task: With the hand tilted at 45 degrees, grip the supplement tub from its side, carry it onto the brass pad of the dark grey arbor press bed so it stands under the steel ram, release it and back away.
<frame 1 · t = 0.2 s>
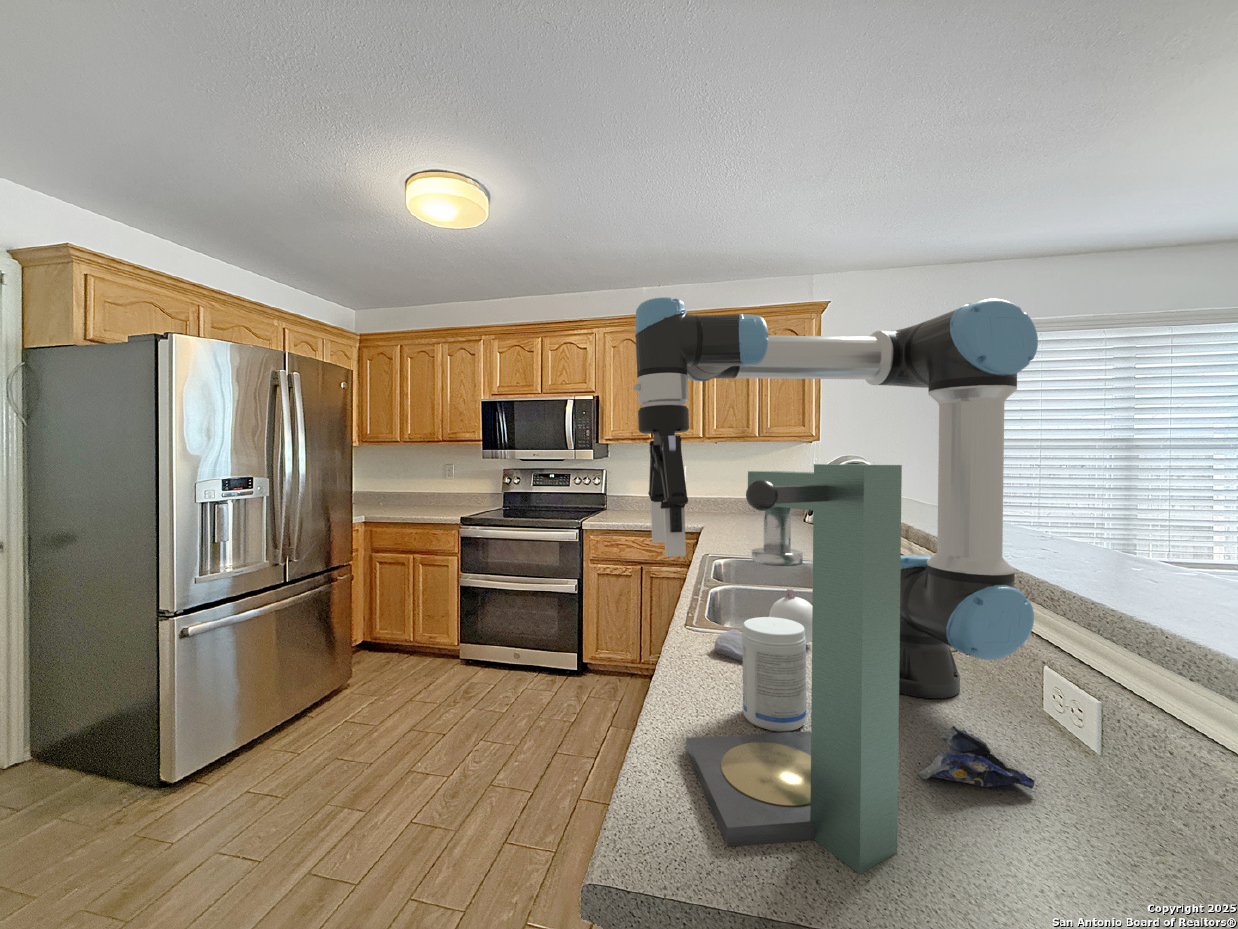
hand: (667, 548, 79), 27 cm above the worktop, tool pointing down, fingers open, 13 cm apart
supplement tub: (773, 719, 83), on the worktop
stone block: (744, 656, 111), on the worktop
arbor press: (774, 788, 66), on the worktop
ornament: (793, 644, 117), on the worktop
snack package: (970, 780, 68), on the worktop
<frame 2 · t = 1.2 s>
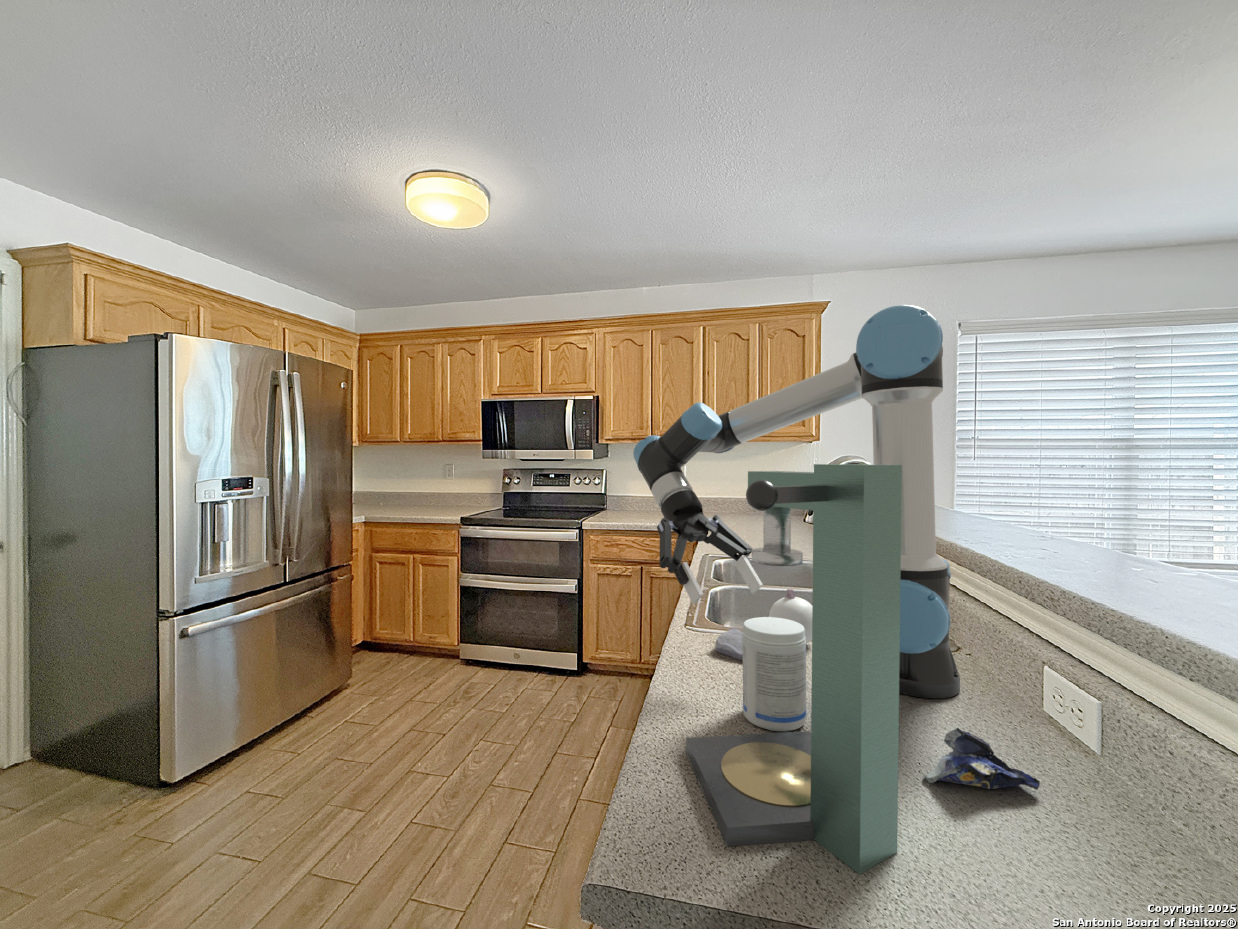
hand: (729, 594, 92), 17 cm above the worktop, tool tilted 45°, fingers open, 13 cm apart
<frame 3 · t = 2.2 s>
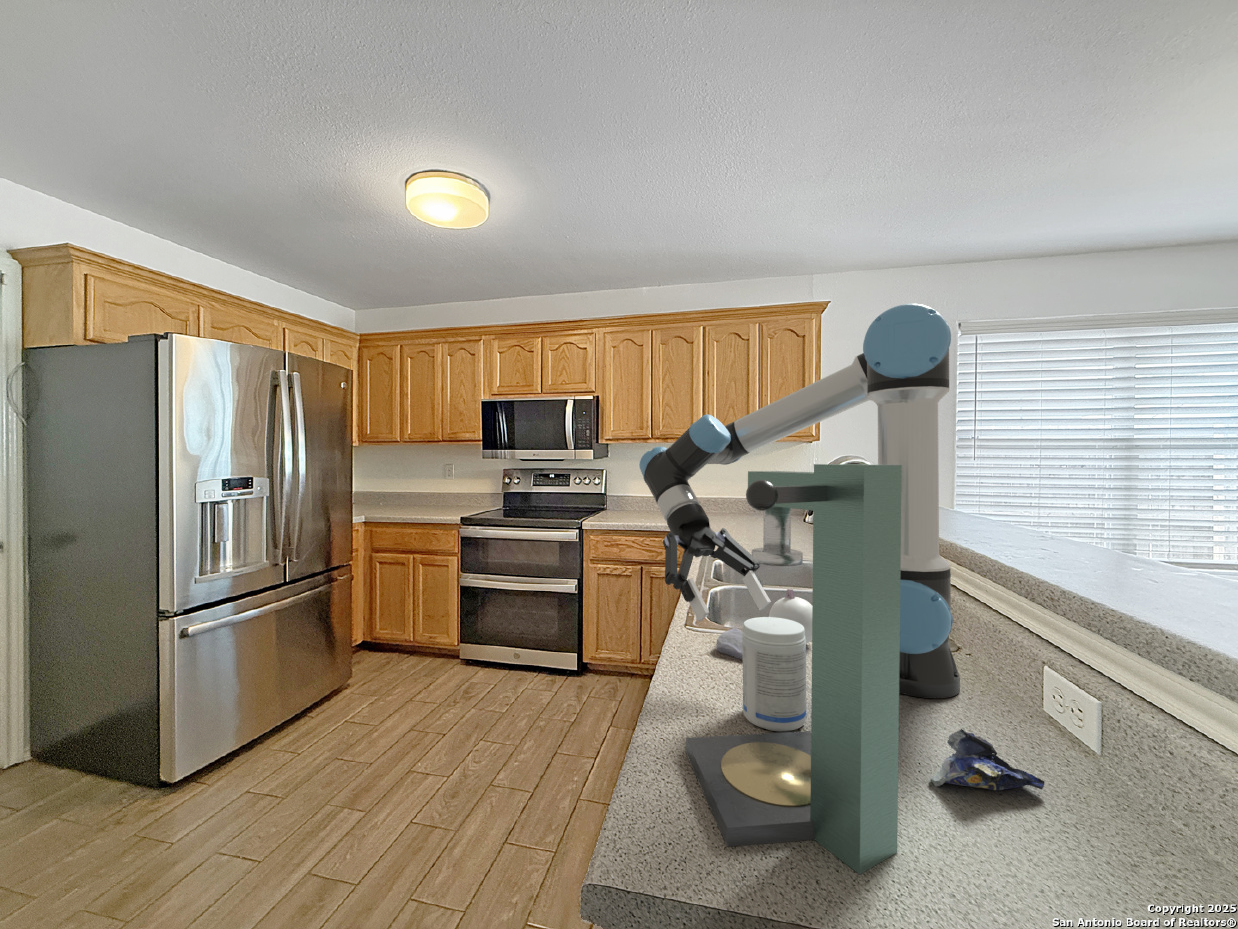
hand: (735, 611, 90), 15 cm above the worktop, tool tilted 45°, fingers open, 13 cm apart
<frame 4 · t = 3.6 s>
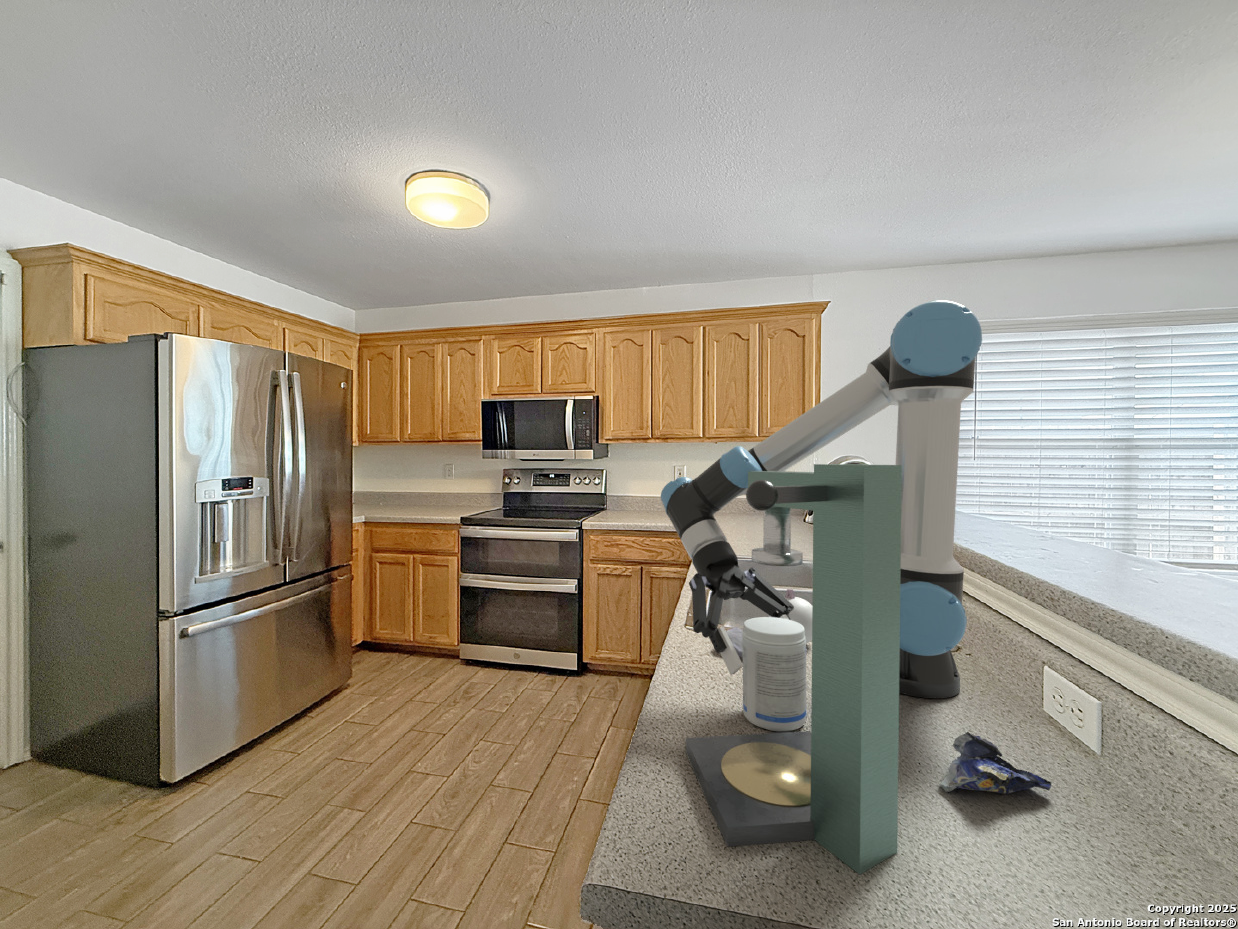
hand: (770, 662, 83), 9 cm above the worktop, tool tilted 45°, fingers open, 13 cm apart
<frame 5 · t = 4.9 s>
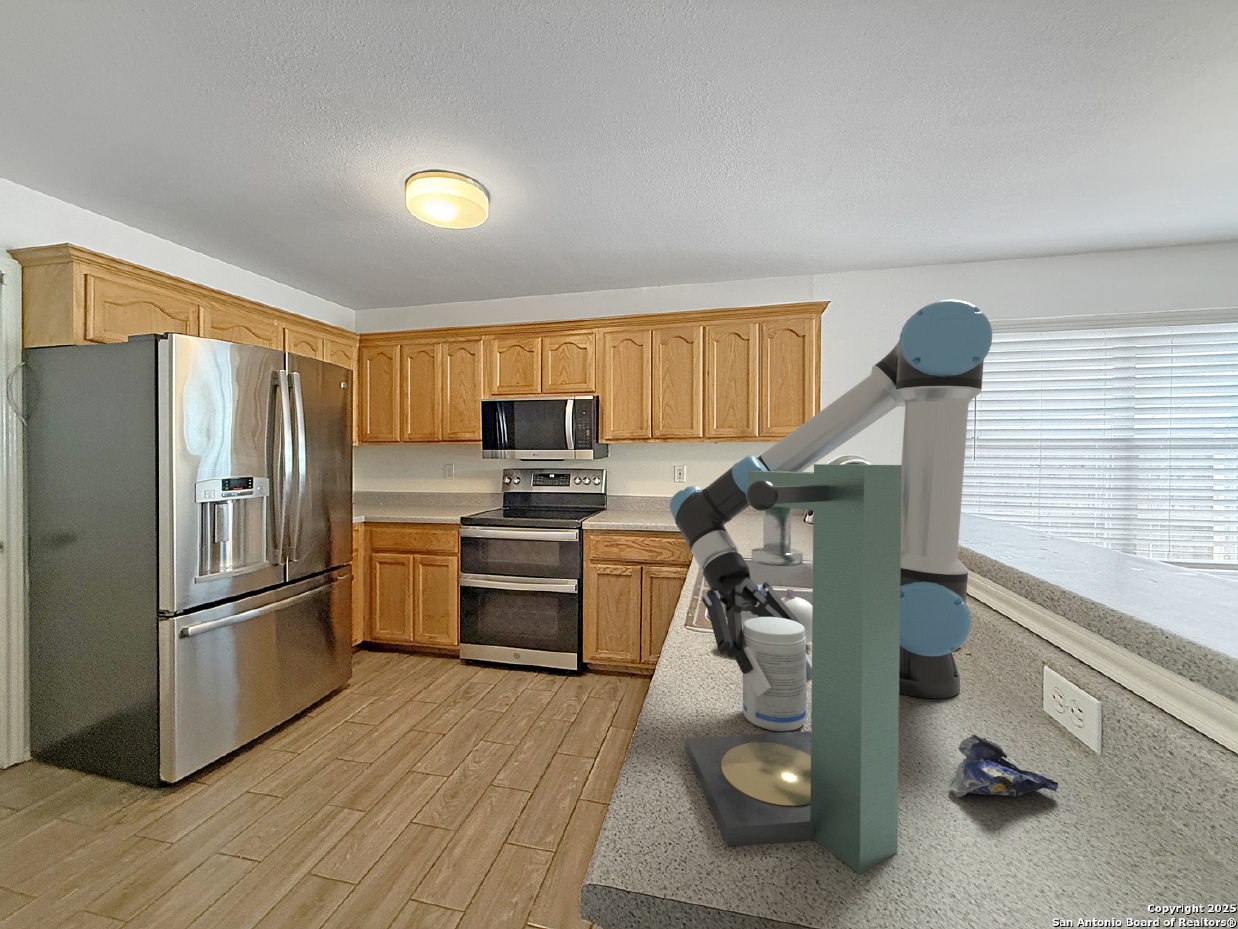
hand: (789, 685, 81), 6 cm above the worktop, tool tilted 45°, fingers closed on supplement tub, 9 cm apart
supplement tub: (773, 719, 83), on the worktop, touching gripper
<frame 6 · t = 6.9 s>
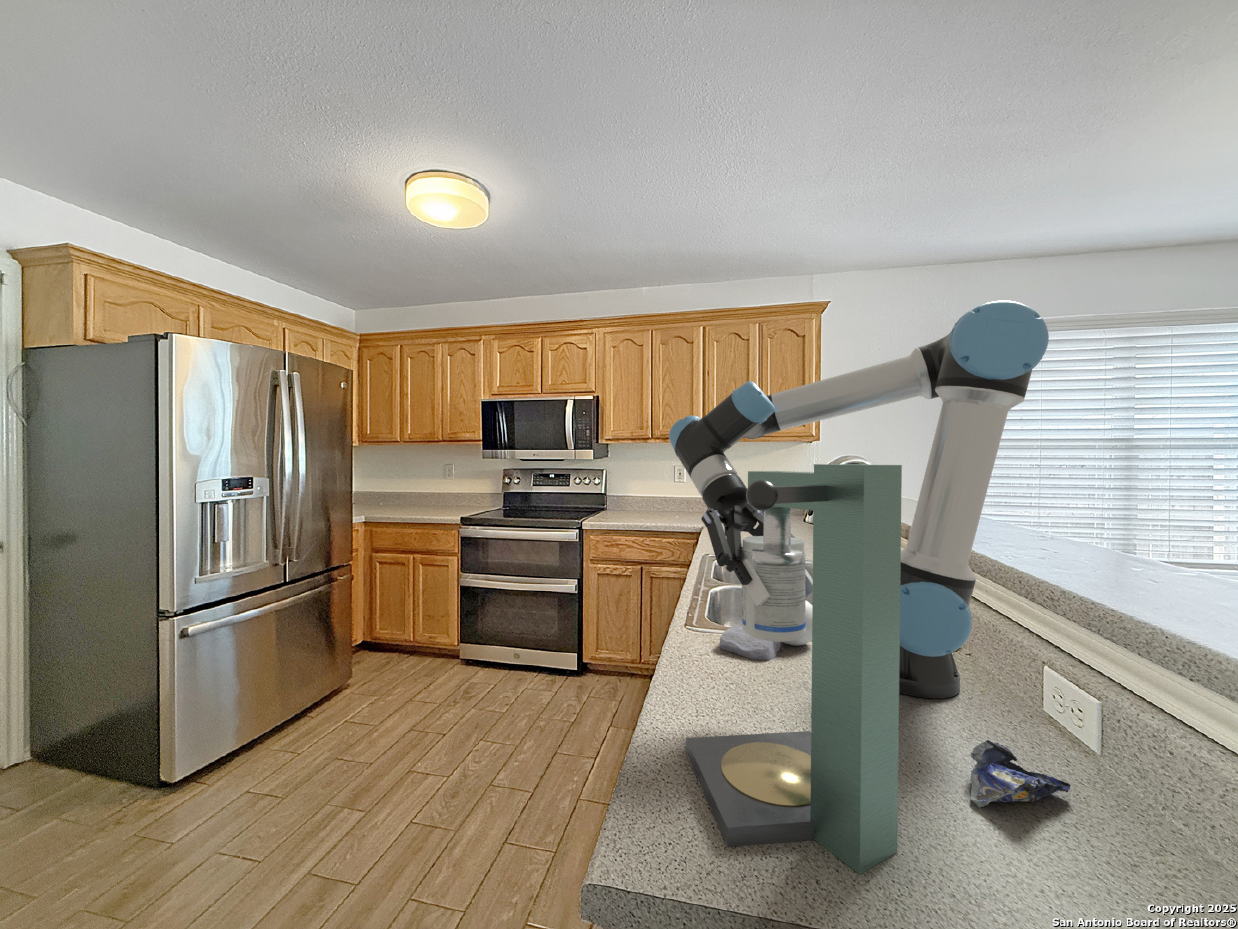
hand: (788, 597, 80), 20 cm above the worktop, tool tilted 45°, fingers closed on supplement tub, 9 cm apart
supplement tub: (772, 634, 83), point 13 cm above the worktop, touching gripper
stone block: (748, 652, 113), on the worktop, touching ornament
ornament: (793, 644, 117), on the worktop, touching stone block
snack package: (1008, 794, 65), on the worktop
when the fingers open (10 cm above the worktop, at t = 11.3 s): supplement tub drops 2 cm, resting on arbor press.
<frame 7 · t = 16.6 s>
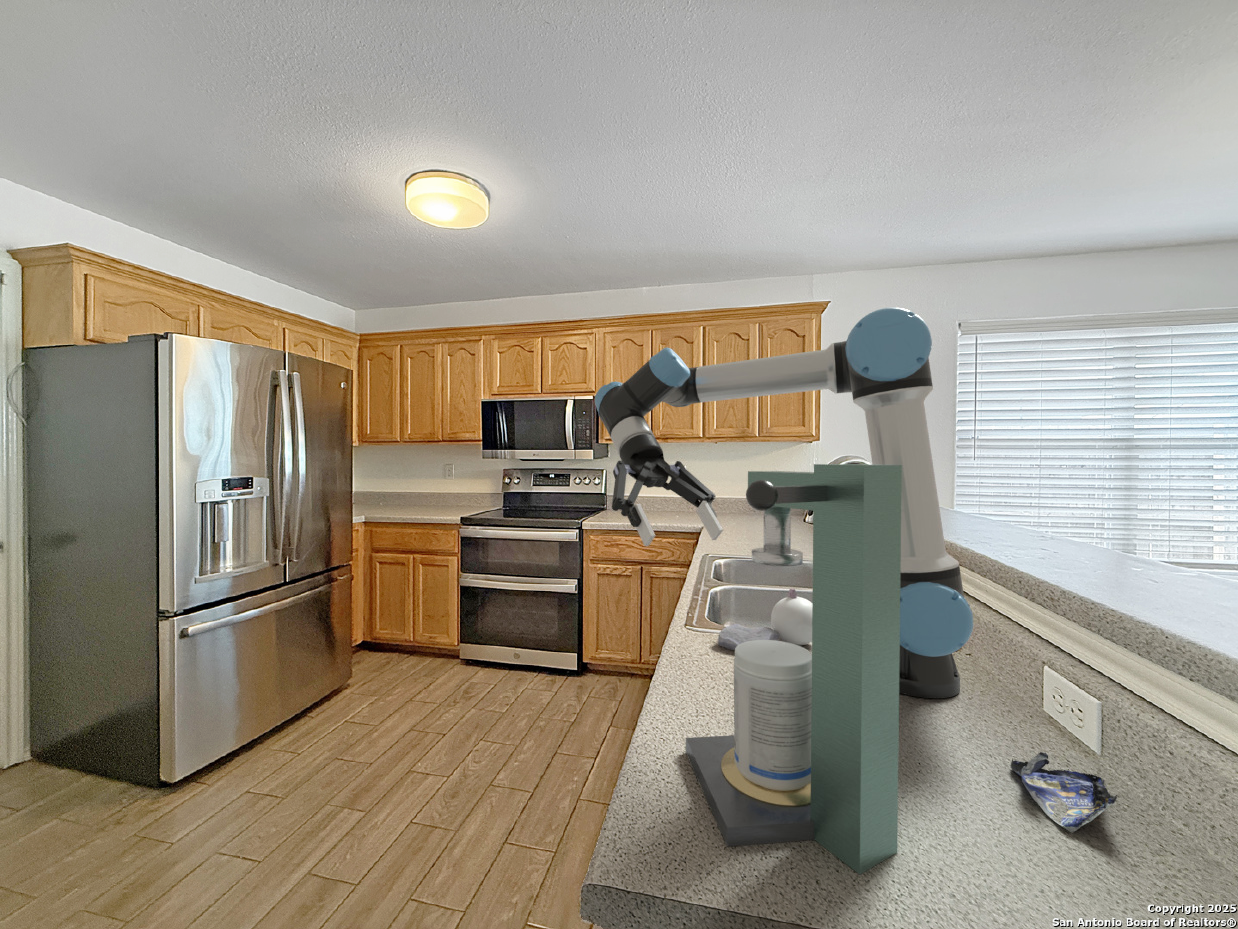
hand: (685, 538, 86), 28 cm above the worktop, tool tilted 45°, fingers open, 13 cm apart
supplement tub: (773, 772, 66), point 2 cm above the worktop, touching arbor press
stone block: (746, 649, 115), on the worktop
ornament: (795, 644, 117), on the worktop
snack package: (1059, 803, 64), on the worktop
at the end: supplement tub inside the target area on the arbor press (0.2 cm from its centre), point 2.0 cm above the arbor press's base; supplement tub tilted 0°; the gripper is holding nothing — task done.
